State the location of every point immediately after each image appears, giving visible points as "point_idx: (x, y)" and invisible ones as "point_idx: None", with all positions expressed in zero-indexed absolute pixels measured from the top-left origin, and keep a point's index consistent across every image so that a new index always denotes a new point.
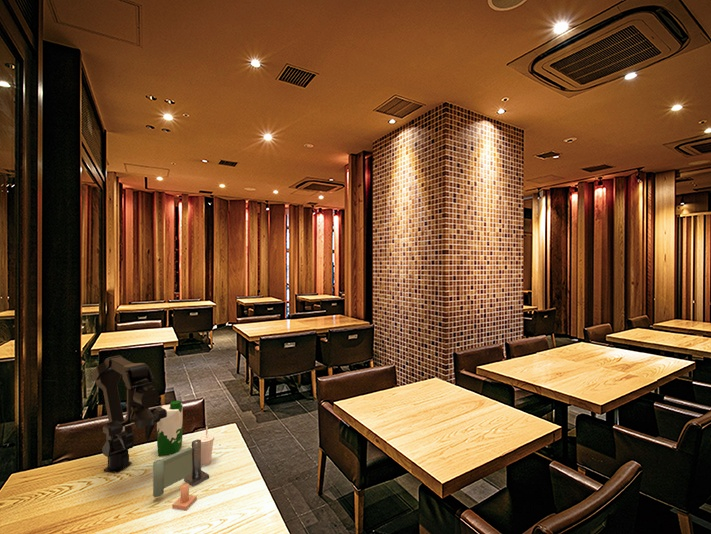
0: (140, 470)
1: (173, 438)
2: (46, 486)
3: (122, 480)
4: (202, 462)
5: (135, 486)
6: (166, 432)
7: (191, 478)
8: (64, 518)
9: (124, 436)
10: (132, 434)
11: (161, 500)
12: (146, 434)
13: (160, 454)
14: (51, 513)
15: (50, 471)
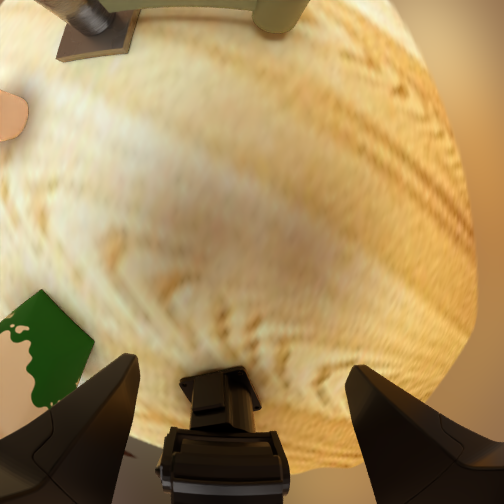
0: (180, 313)
1: (12, 335)
2: None
3: (262, 305)
4: (20, 104)
5: (262, 208)
6: (19, 381)
7: (117, 18)
8: (452, 248)
9: (468, 452)
10: (176, 483)
11: None
12: (123, 423)
13: (85, 339)
14: (443, 304)
15: (317, 464)
